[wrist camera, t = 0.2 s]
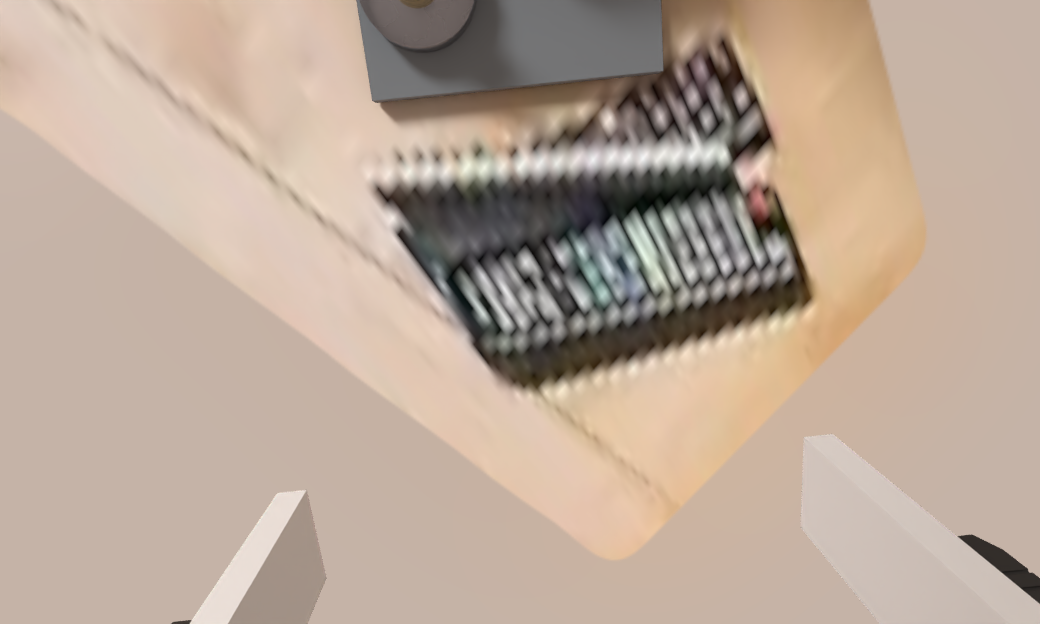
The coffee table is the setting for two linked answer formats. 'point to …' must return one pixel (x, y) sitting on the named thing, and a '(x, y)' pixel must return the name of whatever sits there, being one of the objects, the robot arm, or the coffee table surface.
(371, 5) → the cylinder
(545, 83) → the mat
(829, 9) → the coffee table surface
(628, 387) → the coffee table surface
